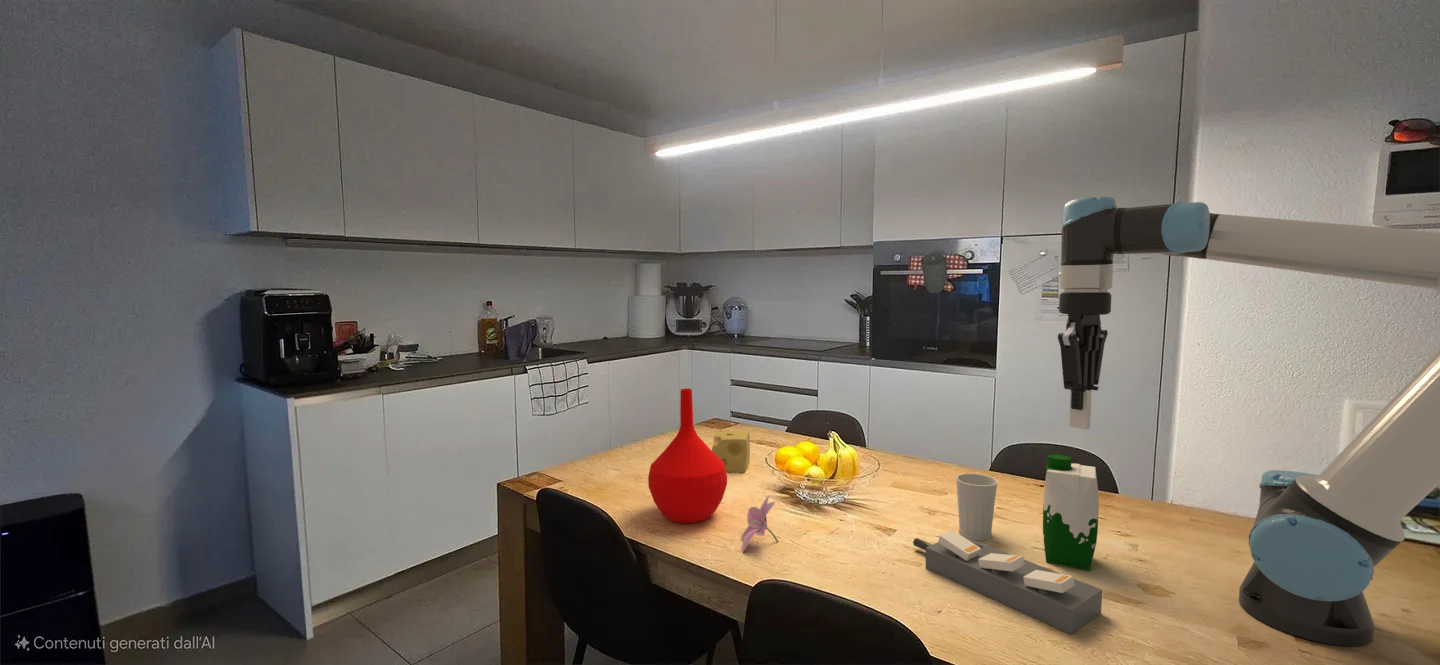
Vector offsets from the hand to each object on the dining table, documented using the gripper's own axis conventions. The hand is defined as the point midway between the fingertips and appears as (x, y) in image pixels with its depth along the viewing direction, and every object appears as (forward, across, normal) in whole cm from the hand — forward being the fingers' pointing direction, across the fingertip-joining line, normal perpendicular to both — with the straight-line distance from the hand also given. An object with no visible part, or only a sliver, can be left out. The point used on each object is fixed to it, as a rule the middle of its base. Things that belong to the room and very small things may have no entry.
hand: (1079, 427), depth 102 cm
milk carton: (+29, -9, -5) cm, 30 cm away
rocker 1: (+23, +13, -14) cm, 30 cm away
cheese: (+29, +10, -90) cm, 95 cm away
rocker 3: (+23, +13, +2) cm, 26 cm away
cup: (+29, -5, -22) cm, 36 cm away
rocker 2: (+23, +13, -6) cm, 27 cm away
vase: (+29, +39, -67) cm, 83 cm away
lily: (+29, +35, -46) cm, 64 cm away
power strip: (+28, +11, -9) cm, 32 cm away
